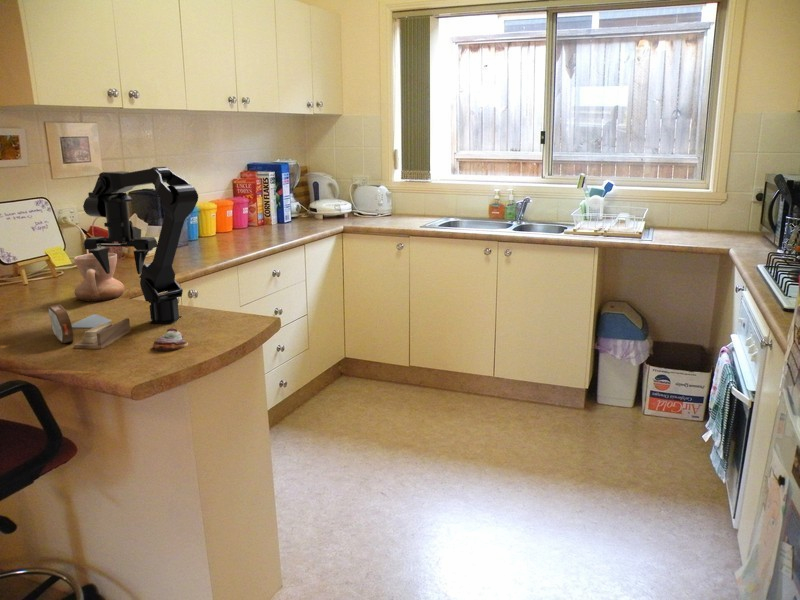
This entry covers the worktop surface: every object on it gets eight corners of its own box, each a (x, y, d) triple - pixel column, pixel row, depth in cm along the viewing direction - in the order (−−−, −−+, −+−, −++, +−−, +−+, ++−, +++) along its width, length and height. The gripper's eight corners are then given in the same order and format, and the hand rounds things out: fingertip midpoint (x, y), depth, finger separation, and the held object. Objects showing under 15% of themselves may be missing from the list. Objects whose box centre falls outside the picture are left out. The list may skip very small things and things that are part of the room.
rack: (130, 332, 171) (129, 318, 171) (101, 348, 158) (99, 333, 157) (105, 331, 172) (103, 317, 171) (74, 348, 159) (72, 333, 158)
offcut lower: (115, 331, 170) (114, 326, 169) (93, 342, 160) (93, 338, 160) (104, 331, 170) (103, 326, 170) (82, 342, 160) (81, 337, 160)
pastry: (192, 344, 161) (191, 324, 160) (180, 353, 154) (178, 333, 153) (161, 343, 162) (159, 324, 161) (147, 353, 155) (145, 332, 154)
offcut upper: (112, 327, 168) (111, 323, 168) (94, 336, 161) (94, 332, 160) (102, 327, 169) (102, 323, 168) (84, 336, 161) (84, 332, 161)
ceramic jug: (85, 294, 216) (80, 251, 212) (131, 292, 218) (126, 250, 214) (66, 307, 198) (60, 261, 195) (116, 305, 200) (111, 259, 197)
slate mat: (133, 311, 193) (133, 309, 193) (98, 328, 175) (97, 327, 175) (104, 310, 194) (104, 309, 194) (66, 328, 176) (66, 326, 176)
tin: (76, 345, 161) (71, 311, 159) (62, 347, 160) (57, 314, 158) (63, 331, 173) (58, 300, 171) (50, 334, 171) (45, 302, 169)
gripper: (163, 214, 187) (168, 268, 191) (101, 214, 189) (107, 268, 193) (144, 219, 176) (150, 276, 180) (79, 219, 178) (86, 275, 182)
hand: (123, 273), depth 184 cm, fingers open, 9 cm apart
